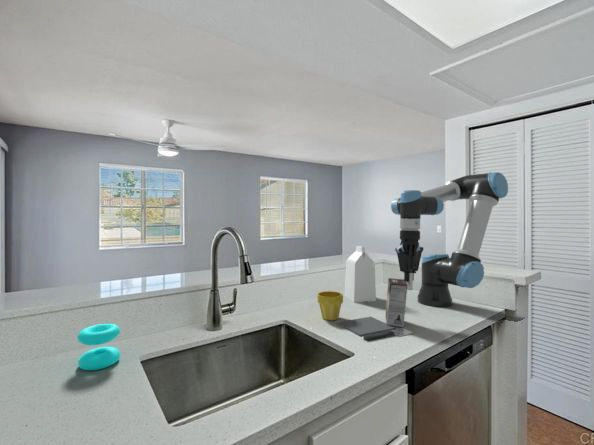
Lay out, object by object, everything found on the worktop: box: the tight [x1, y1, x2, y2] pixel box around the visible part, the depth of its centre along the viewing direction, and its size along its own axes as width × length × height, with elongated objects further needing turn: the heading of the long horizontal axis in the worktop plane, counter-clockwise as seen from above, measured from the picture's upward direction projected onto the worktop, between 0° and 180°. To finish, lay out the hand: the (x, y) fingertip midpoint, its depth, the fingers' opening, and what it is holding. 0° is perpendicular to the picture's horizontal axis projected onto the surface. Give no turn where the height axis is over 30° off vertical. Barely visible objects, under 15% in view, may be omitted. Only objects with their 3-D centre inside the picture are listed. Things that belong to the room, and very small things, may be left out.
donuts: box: [77, 323, 121, 371], centre depth 88 cm, size 10×10×10 cm
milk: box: [343, 245, 377, 303], centre depth 157 cm, size 12×12×26 cm
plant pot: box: [316, 290, 344, 321], centre depth 128 cm, size 10×10×10 cm
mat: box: [336, 316, 396, 337], centre depth 118 cm, size 16×14×1 cm
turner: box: [363, 327, 414, 342], centre depth 109 cm, size 19×5×1 cm, turn 116°
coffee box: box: [385, 277, 408, 328], centre depth 121 cm, size 9×6×16 cm
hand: (408, 289), depth 125 cm, fingers closed
